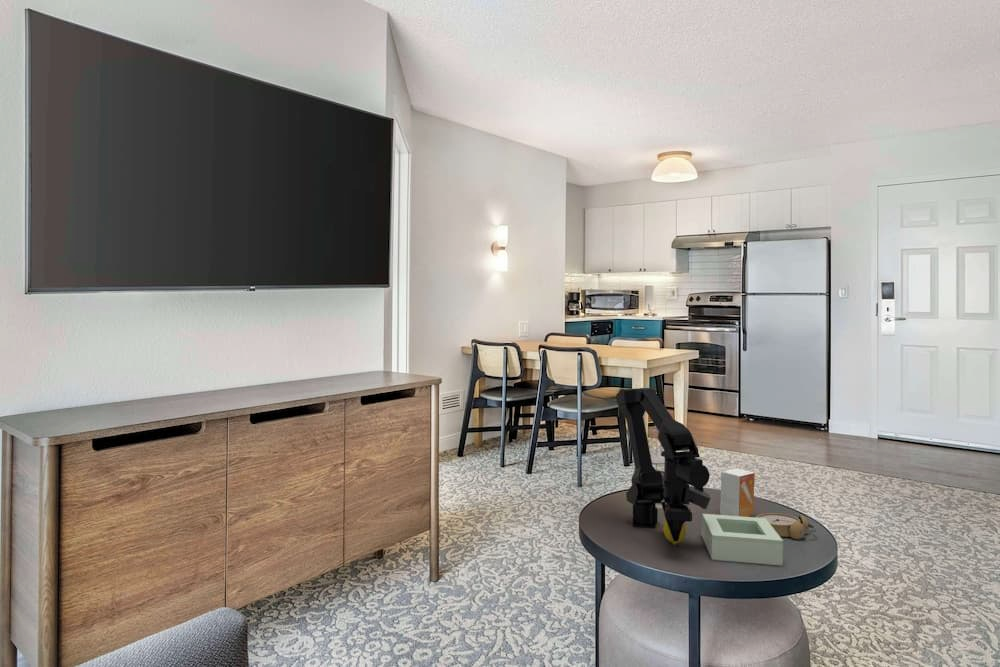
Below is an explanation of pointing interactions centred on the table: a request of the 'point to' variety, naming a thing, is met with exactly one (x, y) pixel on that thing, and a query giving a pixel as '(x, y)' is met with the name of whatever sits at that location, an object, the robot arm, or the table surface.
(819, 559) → the table surface
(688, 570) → the table surface
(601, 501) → the table surface
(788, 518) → the alarm clock
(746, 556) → the pale green square tray
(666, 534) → the lemon
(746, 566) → the table surface
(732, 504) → the small box
